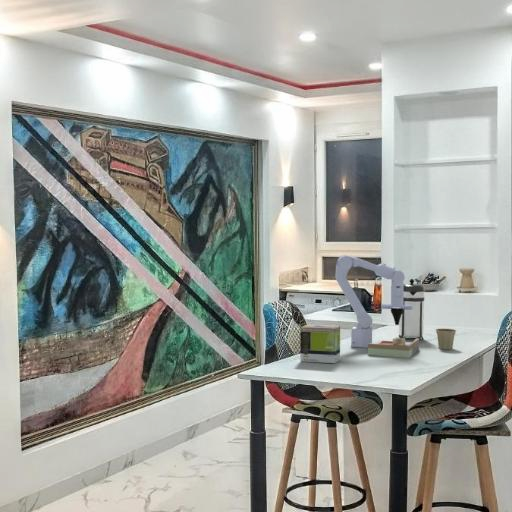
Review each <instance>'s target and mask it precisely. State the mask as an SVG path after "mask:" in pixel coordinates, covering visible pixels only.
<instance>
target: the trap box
mask: <svg viewBox="0 0 512 512" xmlns="http://www.w3.org/2000/svg"><path fill="white" fill-rule="evenodd" d="M419 349H420V340H419V338H415V339H414V340H413V341H409V342H407V341H405V346H404V345H393V340H379V341H377V342H375V343H373V342H372V343H368V348H367V355H368V356H377V357H378V356H380V357H391V358H393V357H394V358H395V357H396V358H407V359H409V358H411V357H412V356H413V355H414V354H416V352H418V351H419Z"/></svg>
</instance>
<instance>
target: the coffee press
mask: <svg viewBox="0 0 512 512" xmlns="http://www.w3.org/2000/svg"><path fill="white" fill-rule="evenodd" d="M414 282H415V280H414V279H413V278H410V279H409V283H403V286H404V287H403V305H413V310H405V309H403V313H402V315H401V317H400V321H399V325H398V338H405V339H406V338H415V339H419V341H420V340H421V341H424V336H423V335H424V315H425V314H424V313H425V312H424V309H425V302H424V301H425V292H426V289H425V288H424V286H423V285H422V284H419V283H418V284H417V283H414Z"/></svg>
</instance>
